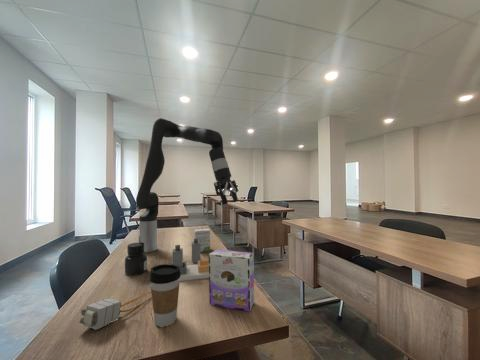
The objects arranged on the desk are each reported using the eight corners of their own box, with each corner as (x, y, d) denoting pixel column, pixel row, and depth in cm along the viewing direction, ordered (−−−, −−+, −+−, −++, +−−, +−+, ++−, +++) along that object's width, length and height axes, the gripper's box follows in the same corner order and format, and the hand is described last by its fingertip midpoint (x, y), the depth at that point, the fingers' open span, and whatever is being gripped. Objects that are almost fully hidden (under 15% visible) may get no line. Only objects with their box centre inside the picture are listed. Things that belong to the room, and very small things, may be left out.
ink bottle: (151, 271, 98) (150, 244, 98) (130, 278, 92) (129, 249, 92) (141, 266, 105) (141, 240, 105) (121, 271, 98) (121, 244, 98)
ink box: (209, 248, 131) (208, 228, 131) (210, 251, 126) (210, 230, 126) (194, 249, 129) (194, 229, 129) (194, 252, 124) (194, 231, 124)
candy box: (254, 302, 73) (254, 252, 73) (249, 312, 67) (249, 258, 67) (216, 295, 77) (215, 248, 77) (208, 304, 72) (208, 253, 72)
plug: (191, 262, 109) (191, 240, 109) (191, 259, 112) (191, 238, 112) (200, 262, 109) (200, 239, 109) (199, 259, 113) (199, 237, 113)
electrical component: (145, 299, 81) (147, 285, 82) (158, 303, 79) (160, 288, 80) (78, 326, 59) (81, 306, 60) (93, 332, 57) (97, 310, 58)
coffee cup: (154, 312, 68) (154, 263, 68) (183, 311, 68) (182, 261, 68) (145, 331, 59) (145, 274, 59) (178, 329, 60) (177, 273, 60)
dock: (162, 282, 87) (162, 250, 87) (165, 270, 99) (165, 242, 99) (221, 276, 93) (220, 246, 93) (217, 265, 104) (217, 239, 104)
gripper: (224, 172, 114) (233, 203, 111) (205, 172, 102) (215, 206, 99) (235, 167, 110) (245, 198, 107) (217, 166, 98) (228, 202, 95)
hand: (230, 202), depth 103 cm, fingers open, 8 cm apart
